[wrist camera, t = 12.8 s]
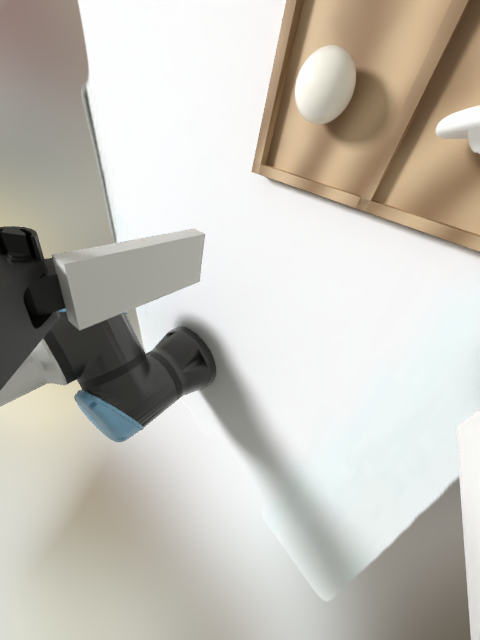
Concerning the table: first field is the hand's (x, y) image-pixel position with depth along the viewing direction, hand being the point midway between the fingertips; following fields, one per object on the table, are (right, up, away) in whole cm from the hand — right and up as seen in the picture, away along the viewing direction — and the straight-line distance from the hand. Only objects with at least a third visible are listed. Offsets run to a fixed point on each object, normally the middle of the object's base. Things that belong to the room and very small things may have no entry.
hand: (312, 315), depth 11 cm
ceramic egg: (+6, +21, +13) cm, 25 cm away
